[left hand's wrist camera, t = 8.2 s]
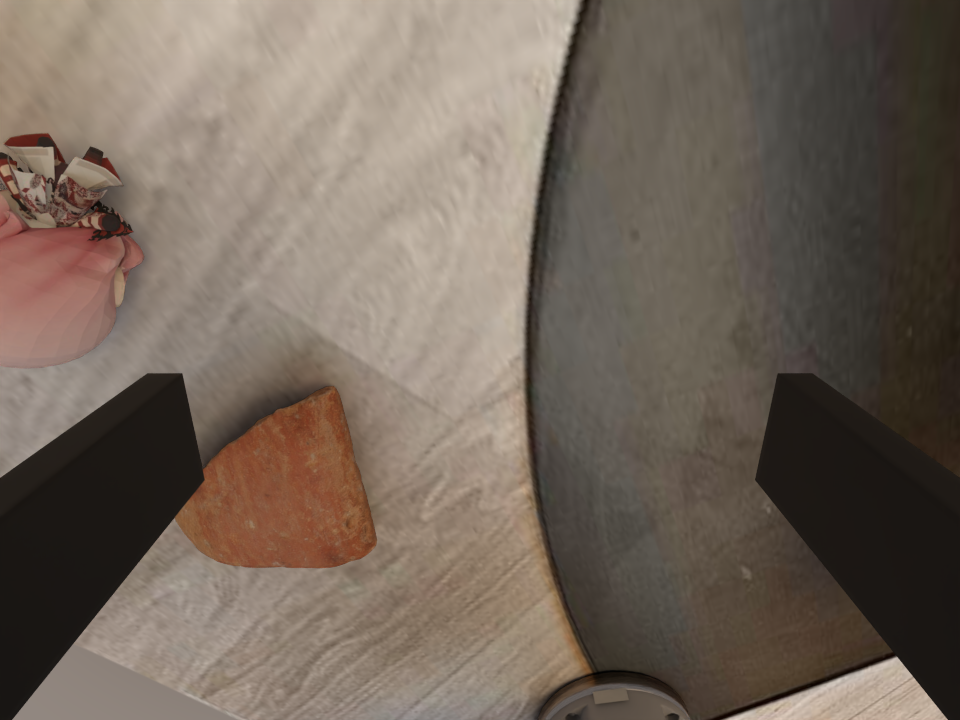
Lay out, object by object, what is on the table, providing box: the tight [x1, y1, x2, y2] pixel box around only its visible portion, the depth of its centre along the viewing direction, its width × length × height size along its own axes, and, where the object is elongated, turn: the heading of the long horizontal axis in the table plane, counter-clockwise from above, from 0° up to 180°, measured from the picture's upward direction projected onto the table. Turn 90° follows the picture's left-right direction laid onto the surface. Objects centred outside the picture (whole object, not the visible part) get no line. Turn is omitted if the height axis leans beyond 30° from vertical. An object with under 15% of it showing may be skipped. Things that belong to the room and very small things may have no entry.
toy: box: [0, 133, 144, 368], centre depth 34 cm, size 12×11×15 cm
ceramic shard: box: [175, 386, 377, 568], centre depth 44 cm, size 15×6×15 cm
